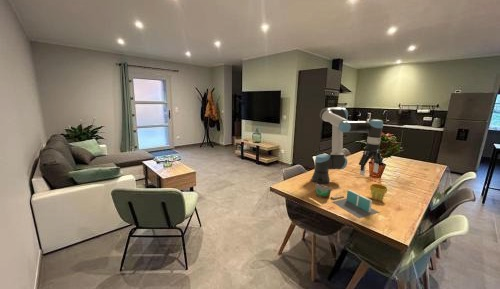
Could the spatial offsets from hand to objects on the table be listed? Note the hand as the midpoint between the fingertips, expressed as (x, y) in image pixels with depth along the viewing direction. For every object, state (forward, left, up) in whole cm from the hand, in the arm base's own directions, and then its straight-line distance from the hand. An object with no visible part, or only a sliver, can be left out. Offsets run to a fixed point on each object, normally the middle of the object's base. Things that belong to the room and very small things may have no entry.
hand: (368, 173), depth 142 cm
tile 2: (+8, -12, -20) cm, 24 cm away
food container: (-16, -25, -21) cm, 37 cm away
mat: (+4, -15, -21) cm, 26 cm away
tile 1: (-1, -12, -20) cm, 23 cm away
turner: (-11, -11, -21) cm, 26 cm away
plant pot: (0, +13, -21) cm, 25 cm away
